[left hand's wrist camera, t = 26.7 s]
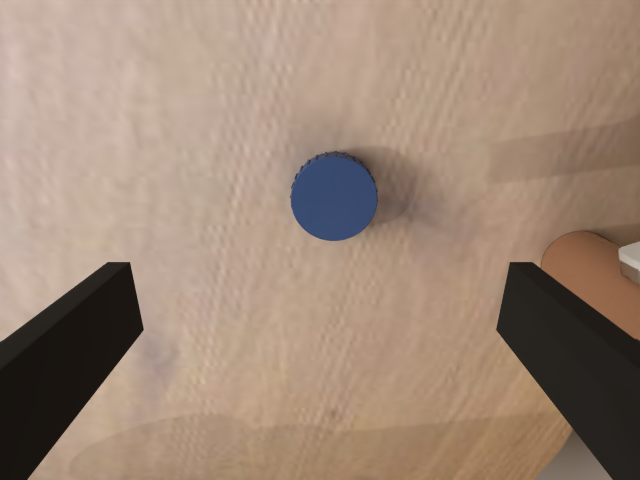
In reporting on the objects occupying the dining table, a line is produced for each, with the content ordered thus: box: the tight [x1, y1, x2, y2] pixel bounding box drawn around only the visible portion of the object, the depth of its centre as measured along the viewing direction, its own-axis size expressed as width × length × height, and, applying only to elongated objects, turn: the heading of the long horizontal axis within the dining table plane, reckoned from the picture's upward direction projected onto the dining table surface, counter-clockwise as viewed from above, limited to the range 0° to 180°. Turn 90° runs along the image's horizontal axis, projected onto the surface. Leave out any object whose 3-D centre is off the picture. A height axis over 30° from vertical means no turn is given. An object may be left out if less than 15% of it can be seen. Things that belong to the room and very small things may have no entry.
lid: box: [290, 151, 378, 241], centre depth 23 cm, size 6×6×2 cm
